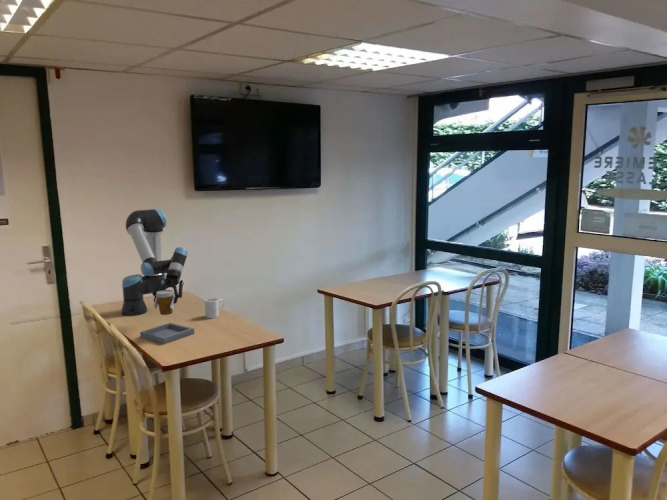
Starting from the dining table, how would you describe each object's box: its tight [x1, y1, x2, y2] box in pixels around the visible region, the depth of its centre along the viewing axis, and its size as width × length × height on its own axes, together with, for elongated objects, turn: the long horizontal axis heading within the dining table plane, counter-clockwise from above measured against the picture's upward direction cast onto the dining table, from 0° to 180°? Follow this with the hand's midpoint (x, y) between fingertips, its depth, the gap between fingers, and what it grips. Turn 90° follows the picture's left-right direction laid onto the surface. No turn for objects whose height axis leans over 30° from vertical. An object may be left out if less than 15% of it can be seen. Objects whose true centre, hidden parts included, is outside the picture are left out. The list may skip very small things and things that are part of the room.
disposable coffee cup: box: [156, 289, 175, 316], centre depth 286 cm, size 10×10×12 cm
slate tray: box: [139, 322, 195, 345], centre depth 289 cm, size 20×20×3 cm
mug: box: [204, 297, 225, 319], centre depth 324 cm, size 12×8×10 cm, turn 125°
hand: (163, 307), depth 283 cm, fingers closed on disposable coffee cup, 9 cm apart
